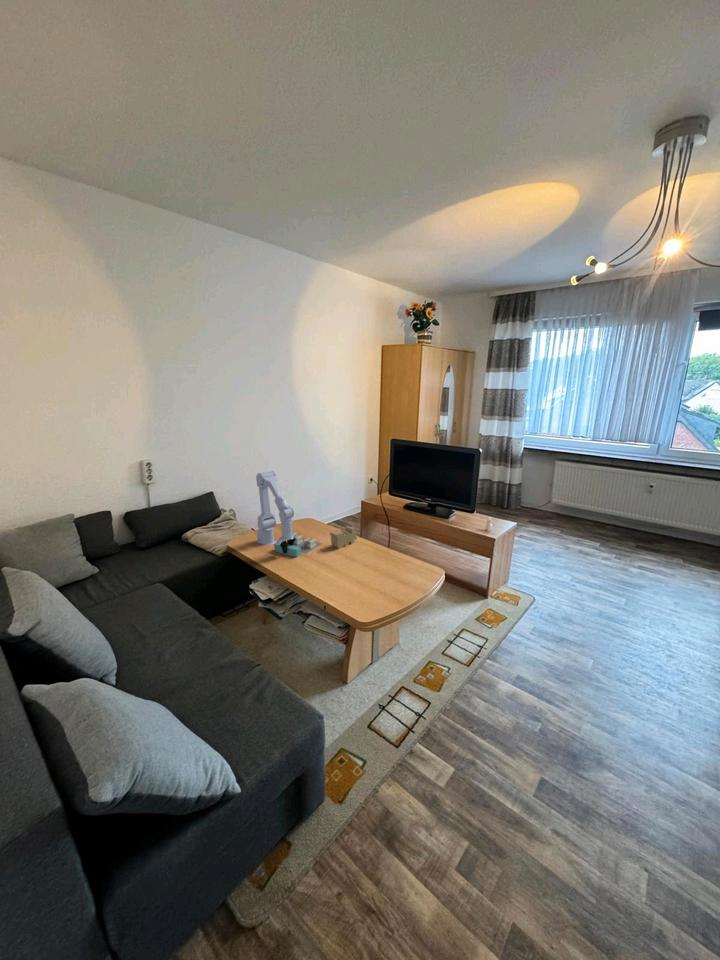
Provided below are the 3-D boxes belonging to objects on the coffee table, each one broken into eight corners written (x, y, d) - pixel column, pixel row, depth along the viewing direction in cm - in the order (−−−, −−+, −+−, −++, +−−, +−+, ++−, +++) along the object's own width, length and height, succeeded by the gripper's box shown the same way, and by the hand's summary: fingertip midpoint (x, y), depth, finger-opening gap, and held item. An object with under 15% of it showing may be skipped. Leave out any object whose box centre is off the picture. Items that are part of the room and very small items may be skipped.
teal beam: (274, 552, 217) (274, 543, 216) (278, 549, 220) (278, 541, 219) (297, 558, 210) (296, 550, 208) (301, 556, 213) (300, 547, 212)
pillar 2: (304, 546, 223) (303, 540, 222) (309, 543, 227) (309, 537, 226) (310, 548, 221) (310, 542, 220) (316, 545, 225) (316, 539, 224)
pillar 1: (290, 542, 228) (290, 536, 227) (296, 540, 232) (296, 533, 231) (297, 544, 226) (297, 538, 225) (302, 541, 230) (302, 535, 229)
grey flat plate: (281, 547, 223) (281, 546, 223) (299, 537, 237) (299, 537, 237) (305, 554, 215) (305, 553, 214) (322, 544, 228) (322, 543, 228)
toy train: (356, 542, 232) (357, 527, 229) (336, 551, 220) (336, 534, 217) (350, 540, 235) (350, 524, 233) (329, 548, 223) (329, 532, 221)
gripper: (283, 534, 203) (284, 558, 207) (300, 526, 215) (301, 548, 219) (273, 532, 207) (274, 555, 210) (291, 523, 219) (291, 545, 222)
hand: (287, 551), depth 215 cm, fingers closed on teal beam, 4 cm apart
